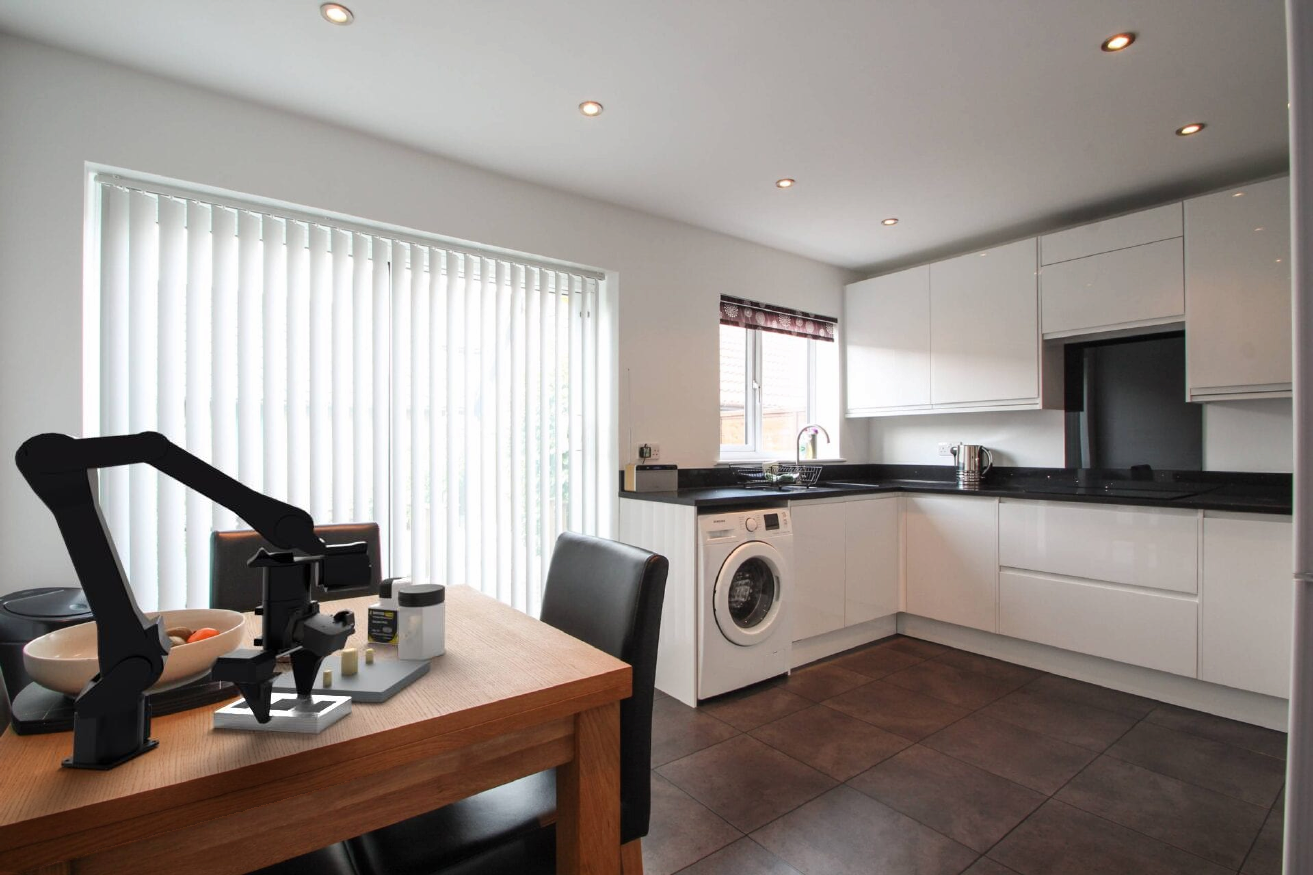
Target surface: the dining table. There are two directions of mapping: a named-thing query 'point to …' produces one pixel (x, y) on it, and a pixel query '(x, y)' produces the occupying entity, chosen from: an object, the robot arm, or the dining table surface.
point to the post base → (358, 677)
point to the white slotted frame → (286, 713)
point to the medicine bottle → (386, 612)
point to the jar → (421, 622)
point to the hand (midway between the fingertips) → (284, 711)
